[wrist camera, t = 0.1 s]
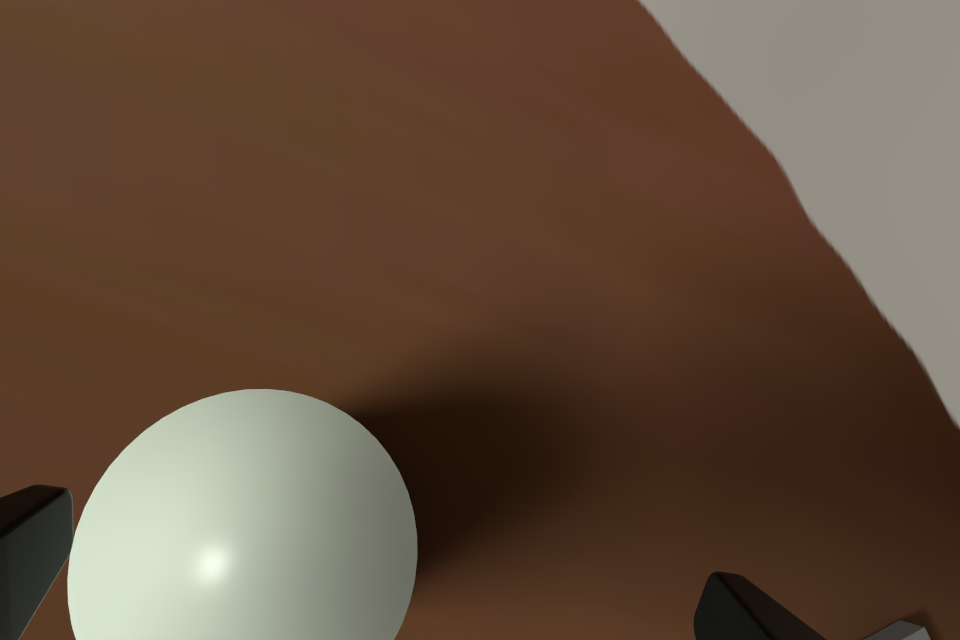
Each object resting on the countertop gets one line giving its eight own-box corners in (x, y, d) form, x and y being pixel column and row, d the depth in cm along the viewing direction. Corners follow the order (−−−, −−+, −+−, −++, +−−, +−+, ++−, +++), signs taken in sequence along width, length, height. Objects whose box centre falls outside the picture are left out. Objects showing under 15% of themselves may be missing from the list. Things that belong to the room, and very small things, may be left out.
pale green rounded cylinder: (435, 576, 23) (464, 652, 13) (243, 659, 21) (116, 814, 12) (372, 397, 24) (357, 346, 14) (187, 464, 22) (31, 457, 13)
